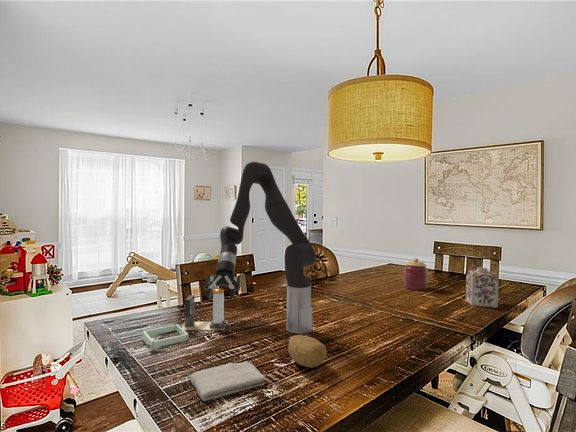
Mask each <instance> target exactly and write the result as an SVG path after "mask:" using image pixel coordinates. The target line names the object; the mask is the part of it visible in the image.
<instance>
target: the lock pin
mask: <svg viewBox="0 0 576 432" xmlns="http://www.w3.org/2000/svg"><path fill="white" fill-rule="evenodd" d="M224 292H225V289H224V288H222V287H219V288H218V287H217V288H216V289H213V291H212V296H213V297H212V320H213V324H224V320H225V319H224V318H225V317H224V316H225V315H224V314H225V312H224V311H225V310H224V308H225V306H224V305H225V295H224V294H225V293H224Z"/></svg>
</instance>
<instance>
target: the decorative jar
mask: <svg viewBox="0 0 576 432" xmlns="http://www.w3.org/2000/svg"><path fill="white" fill-rule="evenodd" d="M465 279H466V280H465V283H466V284H465V300H466V301H467V302H468V303H469V304H470V305H471V306H472V307H480V308H481V307H484V308H497V309H498V306H499V284H500V283H499V282H500V281H499V277H498V274H497V273H495V272H494V271H490V270H488V268H487V267H479V266H477V267H476V269H470V270H468V271H467V273H466V278H465Z"/></svg>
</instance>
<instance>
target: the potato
mask: <svg viewBox="0 0 576 432" xmlns="http://www.w3.org/2000/svg"><path fill="white" fill-rule="evenodd" d="M287 347H288V354H289V355H290V357H291V358H292V359H293V361H294V362H295V363H296V364H298V365H300V366H303V367H305V368H311V369H313V368H317V367H318V366H321V364H323V363H324V361H325V360H326V358H327V353H328V351H327V348H326V346H325V344H324V343H323V342H321V341H319V340H318V339H316V338H314V337H312V336H308V335H307V336H306V335H305V334H297V335H293V336H291V337H290V338H289V341H288V345H287Z"/></svg>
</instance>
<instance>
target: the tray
mask: <svg viewBox="0 0 576 432" xmlns="http://www.w3.org/2000/svg"><path fill="white" fill-rule="evenodd" d="M174 331H176V332H177V334H179V335H175V336H172V337H167V338H161V339H158V340H154V339H155V338H156V337H158V335H160V334H164V333H170V332H174ZM141 340H142V341H144V343H145V344H146V346H148V345H149V346H148V348H149V349H150V351H151V352H155V351H159V350H164V349H168V348H170V347H169V346H168V345H173V344H178V343H182V342H186V341H189V340H190V334H189V333H188V332H187V330H183V329H182V328H181V326H180V325H179V324H178V323H175V324H171V325H166V326H161V327H156V328H155V327H154V328H152V329H151V328H150V329H146V330H142V339H141Z"/></svg>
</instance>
